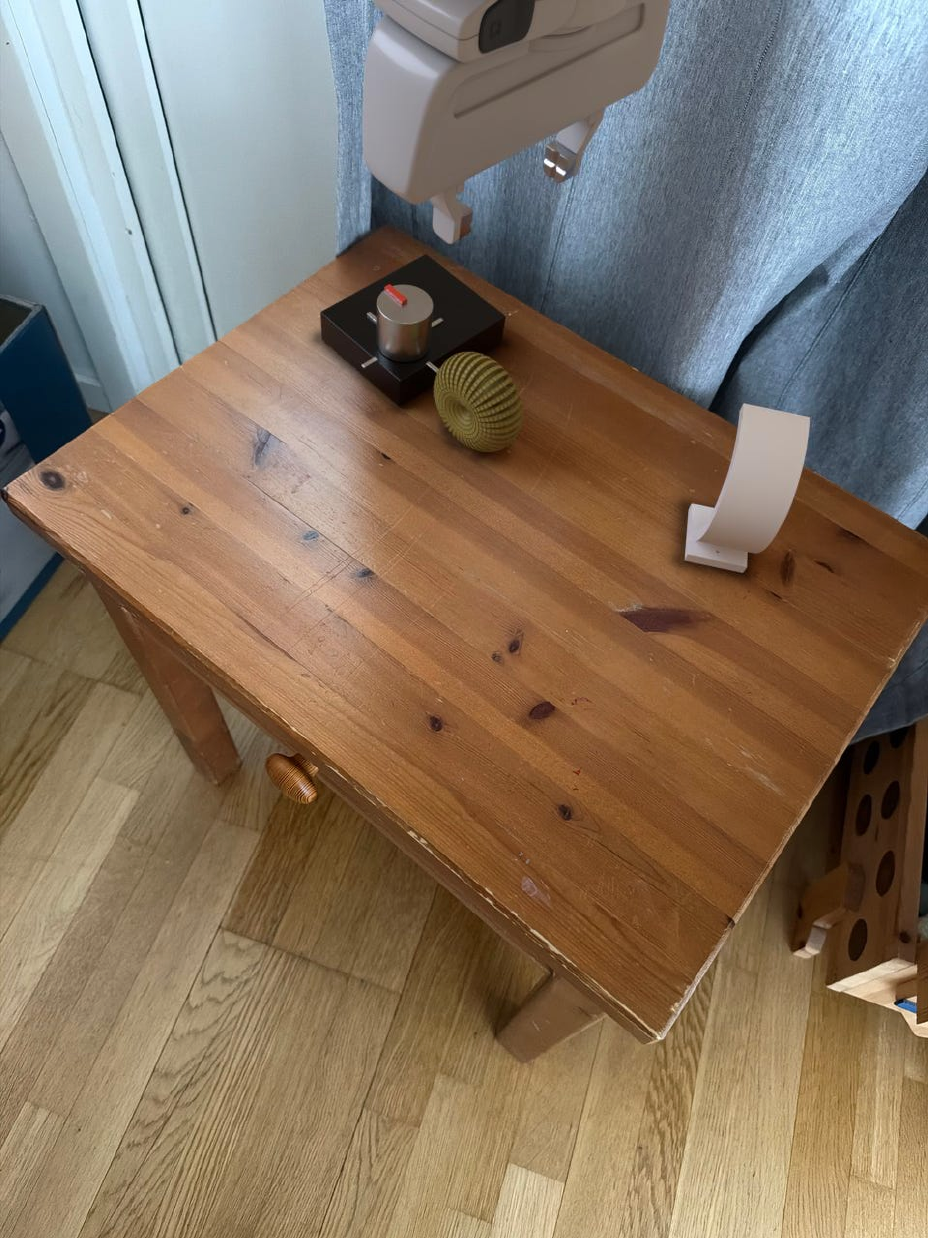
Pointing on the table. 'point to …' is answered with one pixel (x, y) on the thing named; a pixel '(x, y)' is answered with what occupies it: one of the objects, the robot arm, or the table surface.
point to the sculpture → (478, 401)
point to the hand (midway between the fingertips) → (507, 203)
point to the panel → (454, 330)
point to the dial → (404, 322)
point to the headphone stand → (751, 490)
